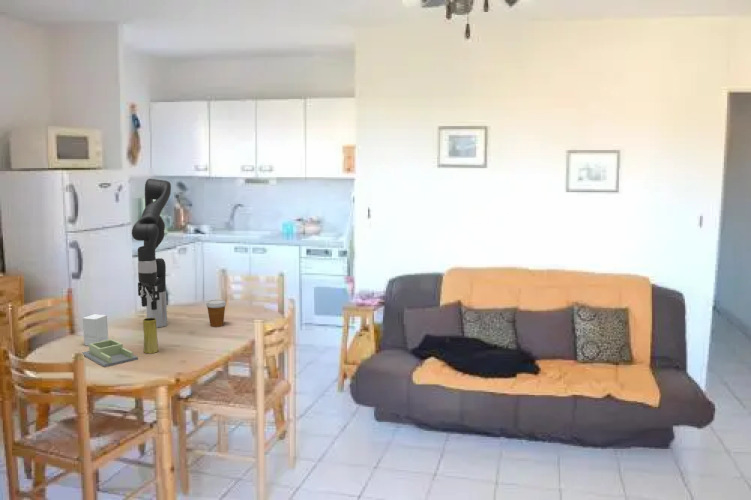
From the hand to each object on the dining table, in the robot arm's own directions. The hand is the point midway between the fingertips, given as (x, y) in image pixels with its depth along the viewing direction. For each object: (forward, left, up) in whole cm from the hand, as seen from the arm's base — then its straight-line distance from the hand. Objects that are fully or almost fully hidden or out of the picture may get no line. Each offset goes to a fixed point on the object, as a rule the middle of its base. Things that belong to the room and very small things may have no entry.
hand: (149, 308), depth 282 cm
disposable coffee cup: (-16, +43, -19) cm, 50 cm away
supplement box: (-27, -12, -20) cm, 35 cm away
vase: (0, 0, -19) cm, 19 cm away
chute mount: (-5, -16, -19) cm, 26 cm away
